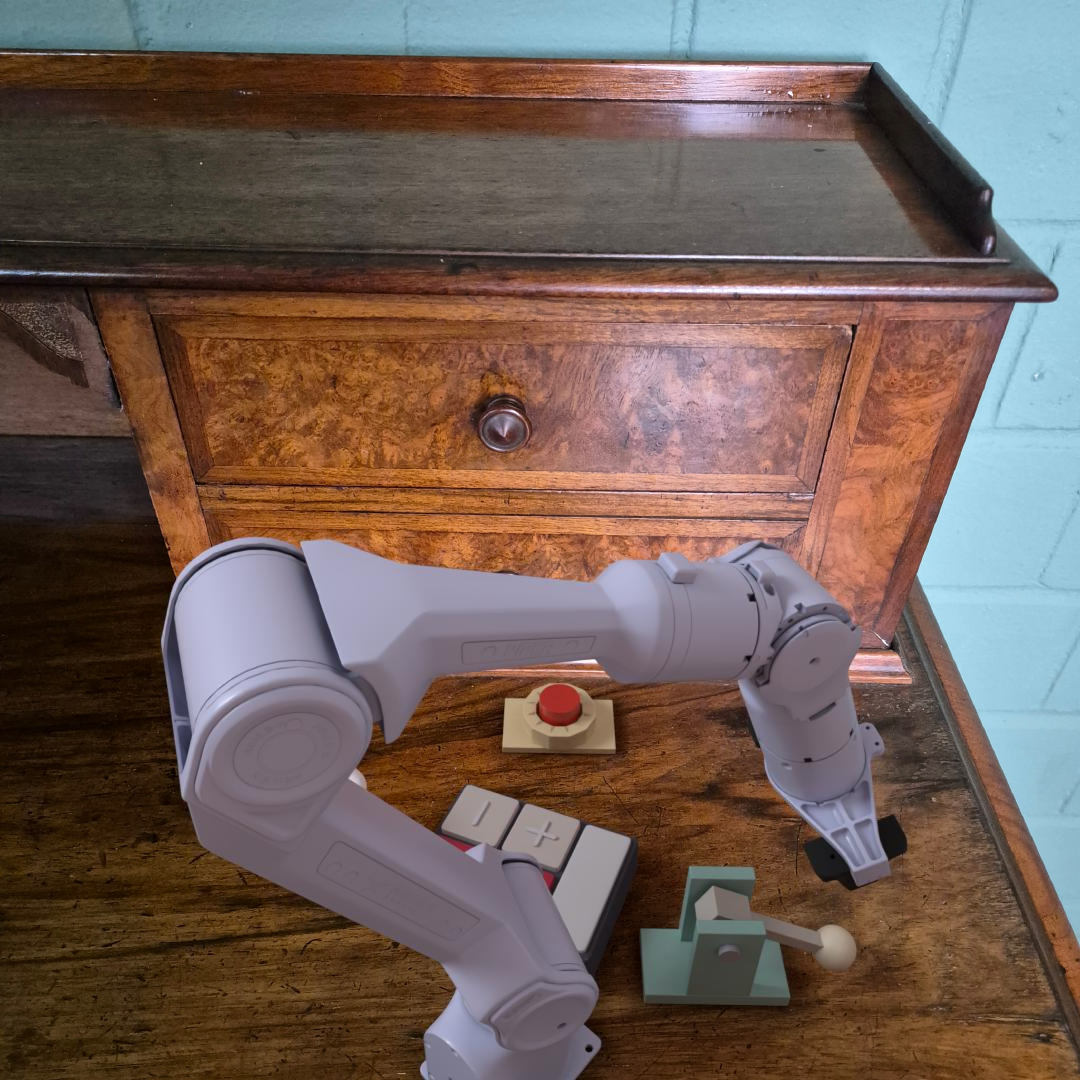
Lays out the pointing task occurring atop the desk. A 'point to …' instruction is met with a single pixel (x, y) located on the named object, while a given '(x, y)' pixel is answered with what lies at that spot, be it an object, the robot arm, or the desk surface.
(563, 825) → the calculator
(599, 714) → the button box
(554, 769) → the desk surface
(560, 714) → the stop button
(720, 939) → the bracket
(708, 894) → the lever
